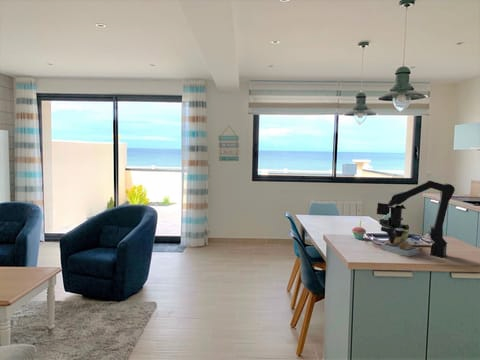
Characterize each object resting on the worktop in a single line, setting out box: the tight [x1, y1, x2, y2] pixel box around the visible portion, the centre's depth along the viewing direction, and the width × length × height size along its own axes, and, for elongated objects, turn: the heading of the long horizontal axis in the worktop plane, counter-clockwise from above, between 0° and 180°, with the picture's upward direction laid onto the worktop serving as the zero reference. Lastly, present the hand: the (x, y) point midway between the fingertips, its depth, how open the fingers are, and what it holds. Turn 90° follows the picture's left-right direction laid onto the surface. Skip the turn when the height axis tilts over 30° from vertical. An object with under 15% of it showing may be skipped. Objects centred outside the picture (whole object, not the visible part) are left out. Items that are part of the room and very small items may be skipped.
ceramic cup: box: [400, 229, 410, 243], centre depth 202 cm, size 13×10×10 cm
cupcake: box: [351, 220, 367, 240], centre depth 216 cm, size 9×8×12 cm
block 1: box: [387, 236, 400, 246], centre depth 191 cm, size 4×4×4 cm
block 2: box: [399, 242, 413, 251], centre depth 185 cm, size 4×4×4 cm
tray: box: [380, 242, 420, 257], centre depth 188 cm, size 16×11×3 cm
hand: (394, 242), depth 191 cm, fingers closed on block 1, 4 cm apart
